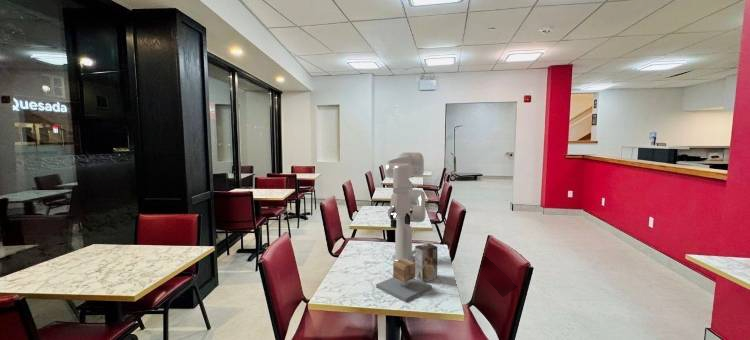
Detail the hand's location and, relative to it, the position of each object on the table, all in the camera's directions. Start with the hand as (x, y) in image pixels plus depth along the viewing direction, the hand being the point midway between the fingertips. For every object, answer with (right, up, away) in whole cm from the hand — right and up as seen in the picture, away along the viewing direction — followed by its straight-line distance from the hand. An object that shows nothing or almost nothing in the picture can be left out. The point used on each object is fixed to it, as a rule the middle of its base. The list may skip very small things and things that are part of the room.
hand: (400, 225), depth 149 cm
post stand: (+1, -27, -8) cm, 28 cm away
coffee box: (+13, -26, +3) cm, 29 cm away
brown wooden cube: (+1, -22, -8) cm, 24 cm away
